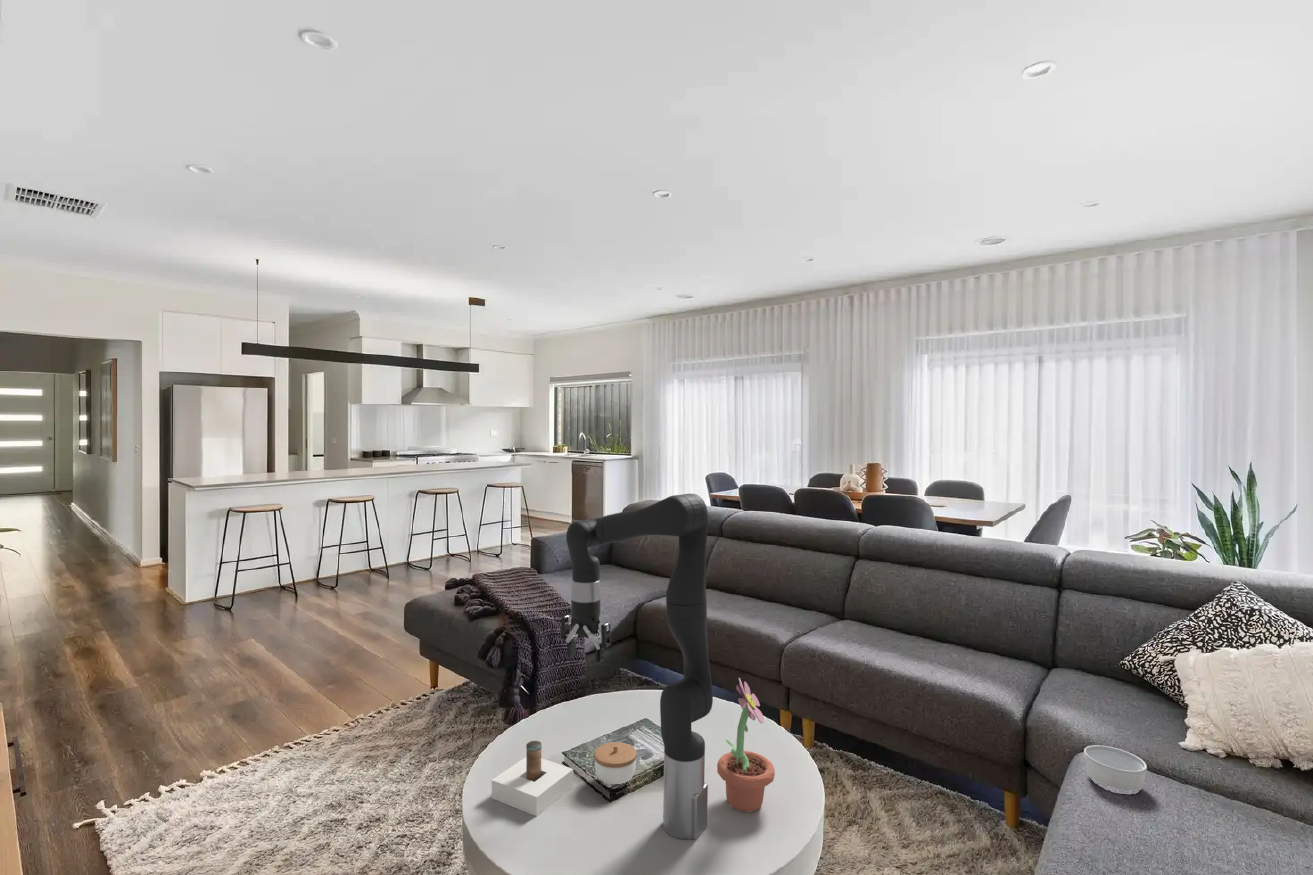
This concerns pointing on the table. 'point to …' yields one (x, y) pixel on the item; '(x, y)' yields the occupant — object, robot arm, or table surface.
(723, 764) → the decorative flower
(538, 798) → the socket block
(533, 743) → the walnut dowel
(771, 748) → the table surface
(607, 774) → the lidded jar
